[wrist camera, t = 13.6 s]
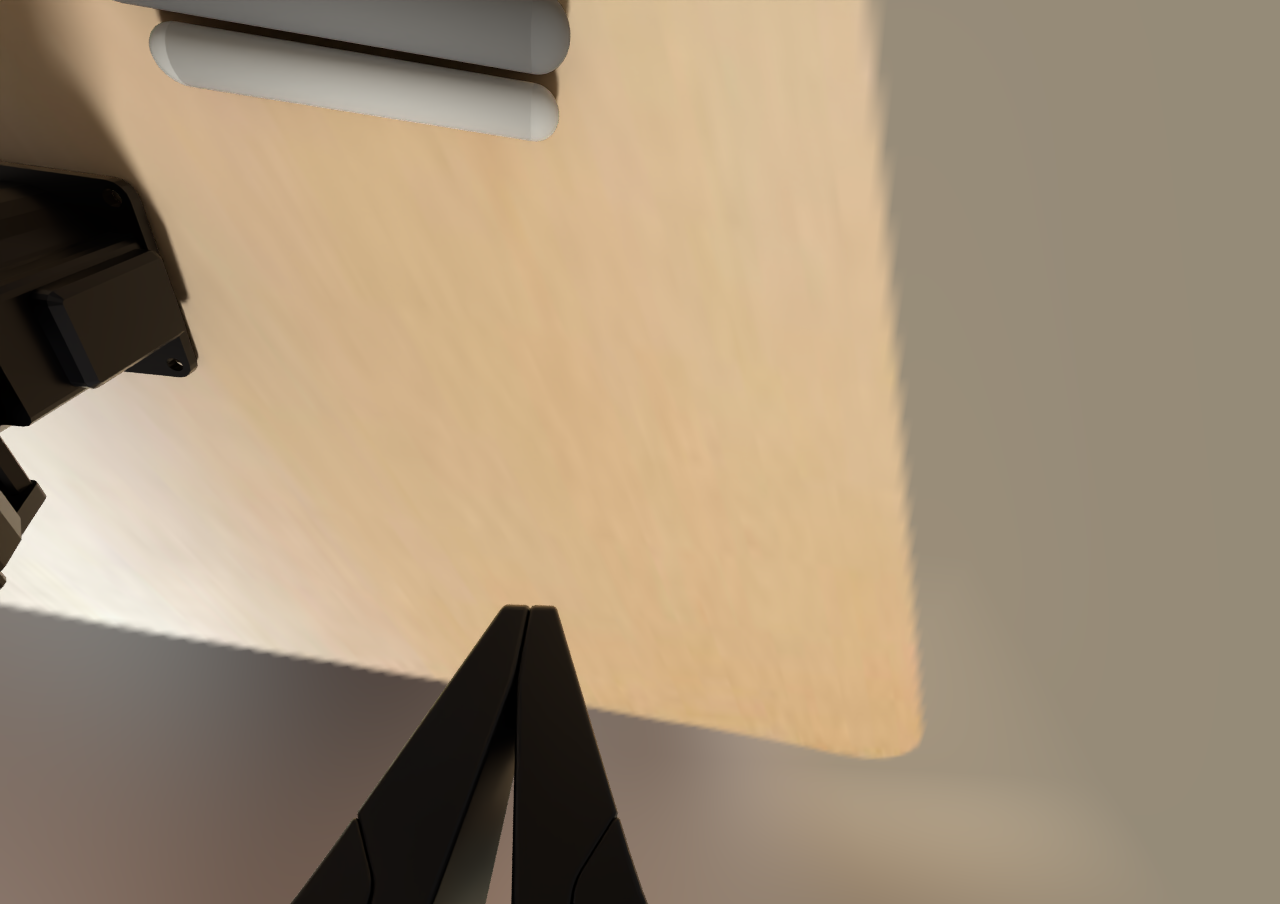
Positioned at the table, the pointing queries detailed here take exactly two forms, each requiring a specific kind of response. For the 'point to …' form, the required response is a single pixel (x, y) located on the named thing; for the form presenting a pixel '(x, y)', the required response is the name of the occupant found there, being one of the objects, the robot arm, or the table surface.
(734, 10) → the table surface
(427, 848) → the robot arm
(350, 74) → the grey double capsule
